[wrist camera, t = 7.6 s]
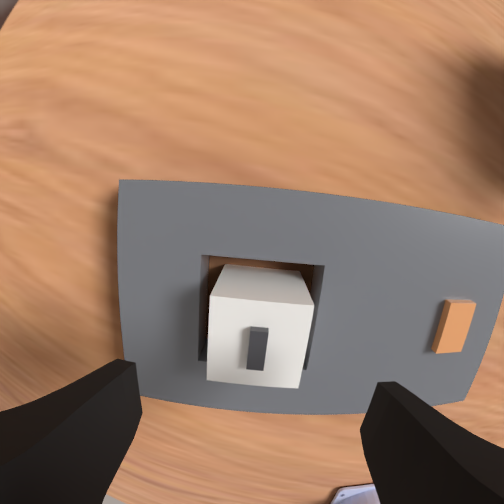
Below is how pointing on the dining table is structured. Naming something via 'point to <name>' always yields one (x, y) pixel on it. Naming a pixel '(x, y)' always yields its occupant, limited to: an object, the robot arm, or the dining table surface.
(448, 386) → the grey square-hole board
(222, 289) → the block
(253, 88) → the dining table surface
